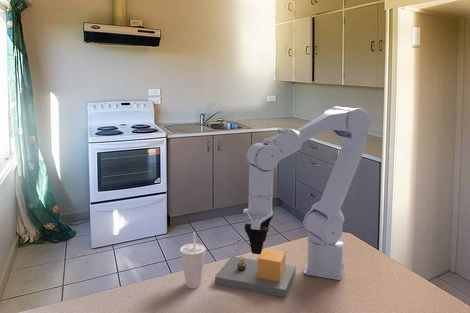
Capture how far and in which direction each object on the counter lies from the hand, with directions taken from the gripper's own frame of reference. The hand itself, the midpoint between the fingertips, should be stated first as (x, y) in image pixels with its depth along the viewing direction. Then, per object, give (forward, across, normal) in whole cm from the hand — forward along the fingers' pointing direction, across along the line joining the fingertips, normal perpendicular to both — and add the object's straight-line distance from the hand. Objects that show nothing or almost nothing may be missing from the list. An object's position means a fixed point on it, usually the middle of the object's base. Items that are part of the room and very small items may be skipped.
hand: (258, 246), depth 91 cm
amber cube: (+8, -2, +3) cm, 9 cm away
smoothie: (+11, +3, -16) cm, 19 cm away
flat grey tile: (+10, -3, -1) cm, 10 cm away
